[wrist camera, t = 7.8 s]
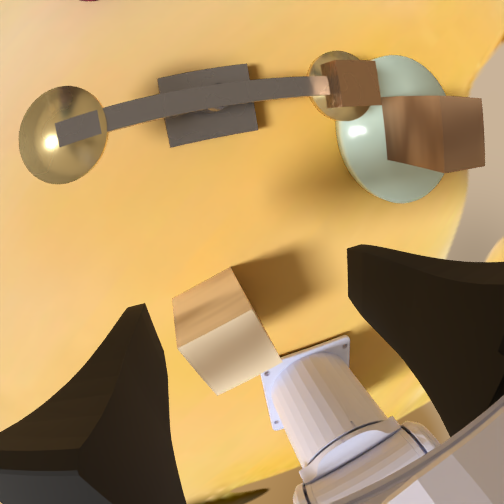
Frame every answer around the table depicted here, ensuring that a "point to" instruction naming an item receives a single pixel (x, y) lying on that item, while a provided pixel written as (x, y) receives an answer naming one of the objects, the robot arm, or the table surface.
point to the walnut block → (434, 132)
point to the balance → (184, 110)
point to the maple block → (222, 333)
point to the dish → (374, 142)
